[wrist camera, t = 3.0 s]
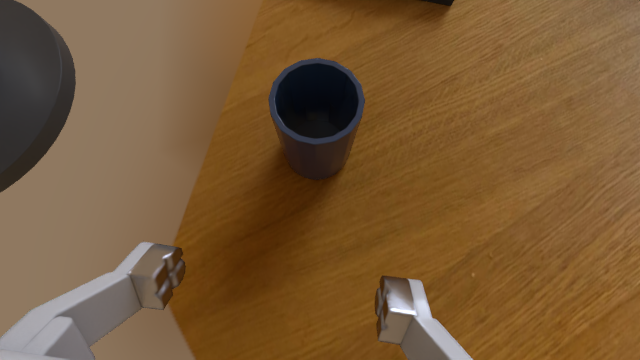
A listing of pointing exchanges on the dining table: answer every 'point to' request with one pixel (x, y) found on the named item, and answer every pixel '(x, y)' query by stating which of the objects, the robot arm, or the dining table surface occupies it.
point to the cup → (316, 115)
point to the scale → (441, 1)
